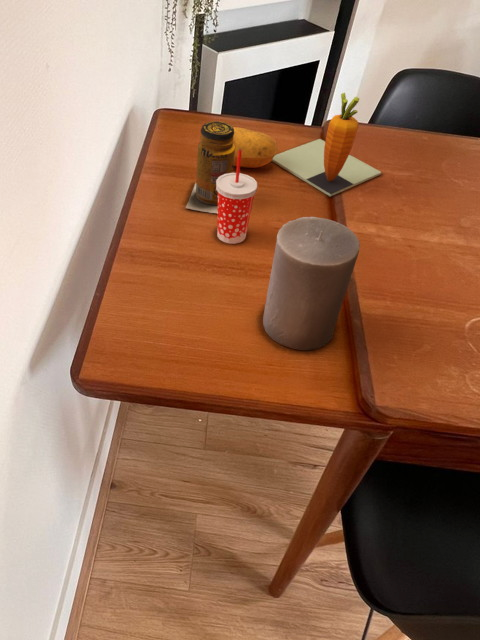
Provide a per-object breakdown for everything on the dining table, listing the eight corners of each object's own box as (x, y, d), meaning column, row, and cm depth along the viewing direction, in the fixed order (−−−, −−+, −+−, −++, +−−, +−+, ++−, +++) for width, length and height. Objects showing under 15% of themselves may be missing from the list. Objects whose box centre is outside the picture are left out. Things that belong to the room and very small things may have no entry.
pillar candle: (345, 343, 69) (380, 248, 58) (277, 357, 67) (298, 261, 56) (315, 296, 75) (340, 201, 64) (251, 307, 73) (265, 211, 62)
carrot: (314, 173, 97) (333, 87, 86) (341, 175, 97) (364, 88, 86) (317, 187, 94) (337, 99, 82) (345, 189, 94) (369, 101, 82)
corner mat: (380, 174, 99) (381, 171, 99) (330, 196, 93) (330, 193, 93) (319, 140, 107) (319, 138, 107) (268, 159, 101) (269, 156, 101)
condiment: (235, 189, 93) (242, 121, 84) (228, 215, 88) (234, 145, 79) (195, 184, 94) (197, 115, 85) (185, 209, 89) (187, 138, 79)
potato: (266, 181, 96) (271, 145, 90) (196, 164, 99) (198, 128, 94) (279, 163, 100) (284, 127, 95) (212, 146, 103) (214, 111, 98)
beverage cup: (226, 219, 87) (233, 135, 76) (257, 233, 85) (270, 148, 74) (204, 236, 84) (209, 151, 73) (237, 251, 81) (247, 165, 71)
